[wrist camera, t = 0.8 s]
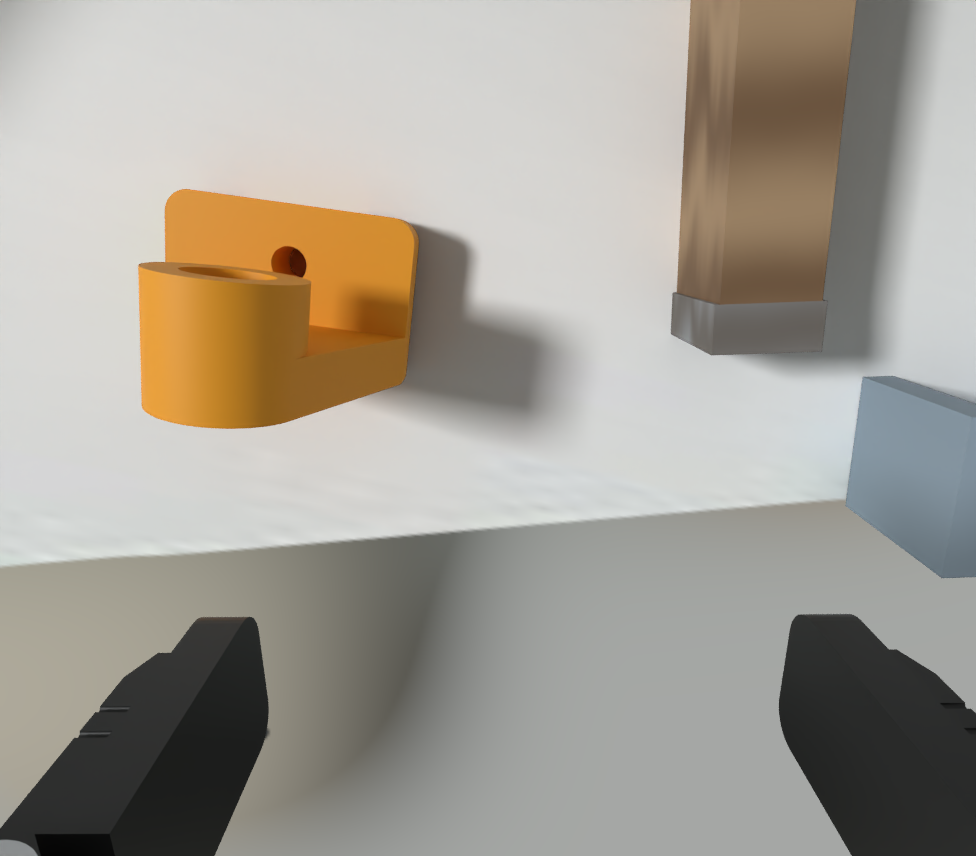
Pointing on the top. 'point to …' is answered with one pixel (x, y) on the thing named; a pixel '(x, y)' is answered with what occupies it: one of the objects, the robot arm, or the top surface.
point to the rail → (760, 172)
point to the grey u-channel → (917, 472)
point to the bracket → (272, 310)
